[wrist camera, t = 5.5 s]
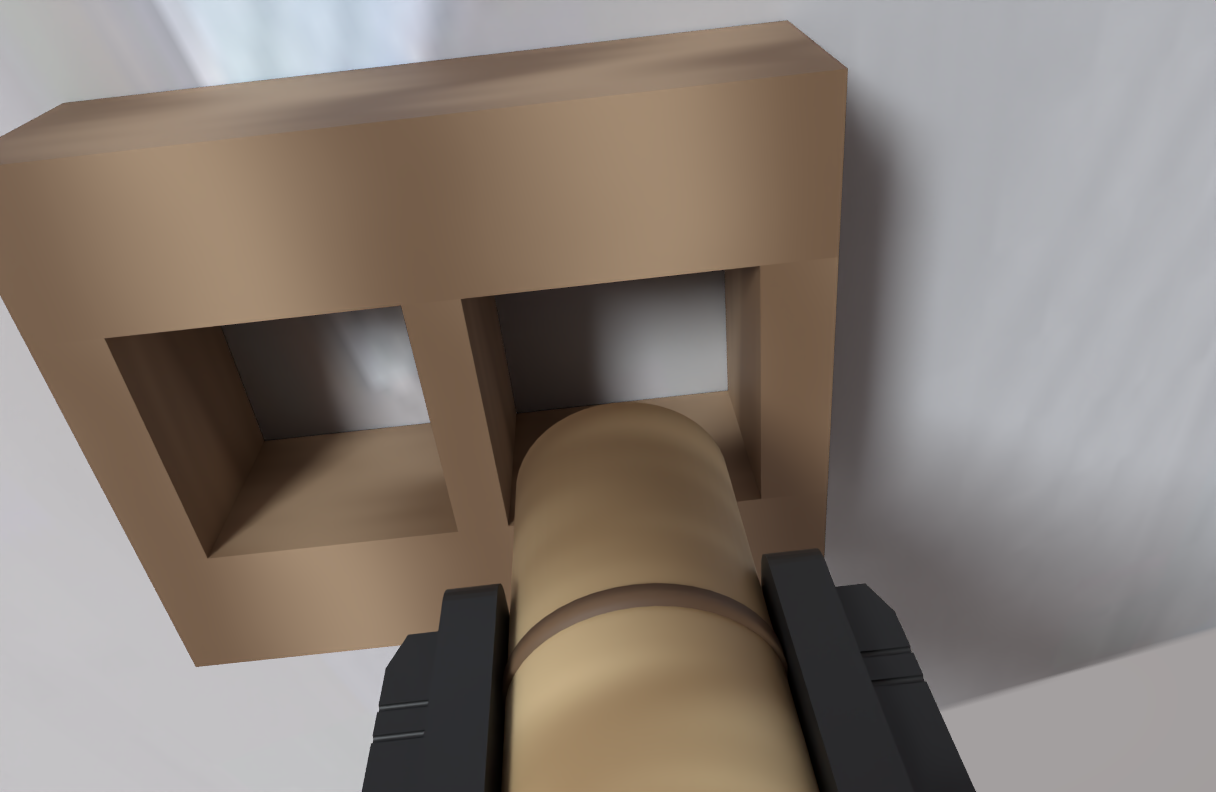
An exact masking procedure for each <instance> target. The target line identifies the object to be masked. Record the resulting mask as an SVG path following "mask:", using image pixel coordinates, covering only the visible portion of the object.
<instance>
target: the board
mask: <svg viewBox="0 0 1216 792" xmlns="http://www.w3.org/2000/svg"><path fill="white" fill-rule="evenodd" d="M847 75H848V68H846V67H845V66H844V65H843V64H841V63H840V62H839V61H838V60H836V59H835V58H834V57H833V56H831V55H830V54H829V53H828V52H826V51H825V50H824V49H823V48H821V47H820V46H819V45H818V44H816V43H815V42H814V41H813V40H811V39H810V38H809V37H808V36H806V35H805V34H804V33H803V32H801V31H800V30H799V29H798V28H796V27H795V26H794V25H793V24H791V23H790V22H789V21H788V20H787V21H778V22H769V23H761V24H752V25H743V26H734V27H726V28H717V29H708V30H699V31H691V32H682V33H673V34H664V35H656V36H647V37H638V38H629V39H620V40H612V41H603V42H594V43H585V44H577V45H568V46H559V47H550V48H542V49H533V50H524V51H515V52H507V53H498V54H489V55H480V56H471V57H463V58H454V59H445V60H436V61H428V62H419V63H410V64H401V65H393V66H384V67H375V68H366V69H358V70H349V71H340V72H331V73H322V74H314V75H305V76H296V77H287V78H279V79H270V80H261V81H252V82H244V83H235V84H226V85H217V86H209V87H200V88H191V89H182V90H173V91H165V92H156V93H147V94H138V95H130V96H121V97H112V98H103V99H95V100H86V101H77V102H68V103H62V104H61V105H59V106H57V107H55V108H53V109H51V110H50V111H48V112H46V113H44V114H42V115H40V116H38V117H37V118H35V119H33V120H31V121H29V122H27V123H25V124H24V125H22V126H20V127H18V128H16V129H14V130H12V131H11V132H9V133H7V134H5V135H3V136H1V137H0V296H1V298H2V300H3V301H4V303H5V305H6V307H7V309H8V311H9V313H10V315H11V317H12V319H13V320H14V322H15V324H16V326H17V328H18V330H19V332H20V334H21V336H22V338H23V339H24V341H25V343H26V345H27V347H28V349H29V351H30V353H31V355H32V357H33V358H34V360H35V362H36V364H37V366H38V368H39V370H40V372H41V374H42V376H43V377H44V379H45V381H46V383H47V385H48V387H49V389H50V391H51V393H52V395H53V396H54V398H55V400H56V402H57V404H58V406H59V408H60V410H61V412H62V414H63V415H64V417H65V419H66V421H67V423H68V425H69V427H70V429H71V431H72V433H73V434H74V436H75V438H76V440H77V442H78V444H79V446H80V448H81V450H82V452H83V453H84V455H85V457H86V459H87V461H88V463H89V465H90V467H91V469H92V471H93V472H94V474H95V476H96V478H97V480H98V482H99V484H100V486H101V488H102V489H103V491H104V493H105V495H106V497H107V499H108V501H109V503H110V505H111V507H112V508H113V510H114V512H115V514H116V516H117V518H118V520H119V522H120V524H121V526H122V527H123V529H124V531H125V533H126V535H127V537H128V539H129V541H130V543H131V545H132V546H133V548H134V550H135V552H136V554H137V556H138V558H139V560H140V562H141V564H142V565H143V567H144V569H145V571H146V573H147V575H148V577H149V579H150V581H151V583H152V584H153V586H154V588H155V590H156V592H157V594H158V596H159V598H160V600H161V602H162V603H163V605H164V607H165V609H166V611H167V613H168V615H169V617H170V619H171V621H172V622H173V624H174V626H175V628H176V630H177V632H178V634H179V636H180V638H181V640H182V641H183V643H184V645H185V647H186V649H187V651H188V653H189V655H190V657H191V659H192V660H193V662H194V664H195V666H196V667H200V666H209V665H219V664H228V663H237V662H247V661H256V660H266V659H275V658H285V657H294V656H303V655H313V654H322V653H332V652H341V651H351V650H360V649H370V648H379V647H388V646H398V645H402V643H403V642H404V640H405V639H406V637H407V635H409V634H418V633H427V632H436V631H438V629H439V622H440V614H441V607H442V600H443V595H444V592H445V591H446V590H447V589H455V588H464V587H472V586H481V585H490V584H499V583H501V584H502V586H503V588H504V592H505V596H506V600H507V605H508V609H509V614H510V601H511V581H512V561H513V541H514V521H515V500H516V482H517V477H518V473H519V469H520V467H521V464H522V462H523V459H524V457H525V456H526V454H527V452H528V451H529V449H530V448H531V446H532V445H533V444H534V443H535V441H536V440H537V439H538V438H539V437H540V436H541V435H542V434H543V433H544V432H545V431H546V430H548V429H549V428H550V427H552V426H553V425H554V424H556V423H557V422H559V421H561V420H562V419H564V418H566V417H568V416H569V415H572V414H574V413H576V412H579V411H581V410H584V409H587V408H591V407H594V406H597V405H591V406H582V407H572V408H563V409H554V410H545V411H536V412H527V413H516V408H515V403H514V397H513V392H512V387H511V381H510V376H509V371H508V365H507V360H506V355H505V349H504V344H503V339H502V333H501V328H500V323H499V317H498V312H497V307H496V301H495V296H494V295H501V294H510V293H519V292H528V291H537V290H546V289H555V288H564V287H573V286H582V285H591V284H600V283H609V282H618V281H627V280H636V279H645V278H654V277H663V276H672V275H681V274H690V273H699V272H708V271H717V270H725V304H726V339H727V374H728V391H719V392H710V393H701V394H692V395H682V396H673V397H664V398H655V399H646V400H637V401H627V402H637V403H647V404H653V405H658V406H661V407H665V408H668V409H671V410H673V411H676V412H678V413H680V414H683V415H684V416H686V417H688V418H690V419H691V420H693V421H694V422H696V423H697V424H698V425H700V426H701V427H702V428H703V429H704V430H705V431H706V432H707V433H708V434H709V435H710V436H711V437H712V438H713V439H714V441H715V442H716V444H717V445H718V447H719V448H720V450H721V453H722V455H723V457H724V459H725V463H726V466H727V470H728V473H729V477H730V480H731V484H732V487H733V491H734V494H735V498H736V501H737V505H738V508H739V512H740V515H741V519H742V522H743V526H744V529H745V533H746V536H747V540H748V543H749V547H750V550H751V554H752V557H753V561H754V564H755V568H756V571H757V575H758V578H759V582H760V585H761V558H762V555H763V554H769V553H778V552H787V551H796V550H805V549H814V548H818V549H819V550H820V551H821V553H822V555H823V557H824V551H825V530H826V510H827V489H828V468H829V447H830V427H831V406H832V385H833V365H834V344H835V323H836V302H837V282H838V261H839V240H840V220H841V199H842V178H843V158H844V137H845V116H846V95H847ZM392 306H401V308H402V312H403V316H404V320H405V324H406V328H407V332H408V335H409V339H410V343H411V347H412V351H413V355H414V359H415V363H416V367H417V371H418V375H419V379H420V383H421V387H422V391H423V395H424V399H425V403H426V407H427V411H428V415H429V418H430V422H431V423H426V424H416V425H407V426H398V427H389V428H380V429H371V430H361V431H352V432H343V433H334V434H325V435H316V436H306V437H297V438H288V439H279V440H270V441H264V439H263V436H262V433H261V431H260V428H259V426H258V423H257V420H256V418H255V415H254V412H253V410H252V407H251V405H250V402H249V399H248V397H247V394H246V392H245V389H244V386H243V384H242V381H241V379H240V376H239V373H238V371H237V368H236V366H235V363H234V360H233V358H232V355H231V353H230V350H229V347H228V345H227V342H226V339H225V337H224V334H223V332H222V329H221V325H230V324H239V323H248V322H257V321H266V320H275V319H284V318H293V317H302V316H311V315H320V314H329V313H338V312H347V311H356V310H365V309H374V308H383V307H392ZM618 403H619V402H618ZM600 405H603V404H600Z"/></svg>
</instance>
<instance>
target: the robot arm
mask: <svg viewBox="0 0 1216 792" xmlns="http://www.w3.org/2000/svg"><path fill="white" fill-rule="evenodd" d="M761 589H762V592H763V596H764V599H765V603H766V606H767V610H768V613H769V617H770V620H771V623H772V627H773V630H774V632H775V634H776V635H777V637H778V639H779V641H780V643H781V645H782V648H783V651H784V654H785V658H786V661H787V665H788V683H789V686H790V690H791V693H792V697H793V700H794V704H795V707H796V711H797V714H798V718H799V721H800V725H801V728H802V732H803V735H804V739H805V742H806V746H807V749H808V753H809V756H810V760H811V763H812V767H813V770H814V774H815V777H816V781H817V784H818V788H819V791H820V792H976V791H975V789H974V787H973V785H972V782H971V780H970V778H969V776H968V773H967V771H966V769H965V767H964V765H963V762H962V760H961V758H960V756H959V753H958V751H957V749H956V747H955V744H954V742H953V740H952V738H951V736H950V733H949V731H948V729H947V727H946V724H945V722H944V720H943V718H942V716H941V713H940V711H939V709H938V707H937V704H936V702H935V700H934V698H933V696H932V693H931V691H930V689H929V687H928V684H927V682H924V679H923V673H922V671H921V669H920V667H919V664H918V662H917V660H916V658H915V656H914V653H911V650H910V645H909V642H908V640H907V638H906V636H905V633H904V631H903V629H902V627H901V625H900V622H899V620H898V618H897V616H896V613H895V611H894V610H893V609H891V608H890V607H889V606H888V605H887V604H886V603H885V602H884V601H883V600H882V599H881V598H880V597H879V596H878V595H877V594H876V593H875V592H874V591H873V590H871V589H870V588H869V587H868V586H867V585H866V584H857V585H848V586H839V587H835V585H834V583H833V580H832V578H831V575H830V572H829V570H828V567H827V565H826V562H825V559H824V557H823V555H822V553H821V551H820V550H819V549H818V548H814V549H805V550H796V551H787V552H778V553H769V554H763V555H762V558H761ZM509 621H510V614H509V609H508V605H507V600H506V596H505V592H504V588H503V586H502V584H501V583H499V584H490V585H481V586H472V587H464V588H455V589H447V590H446V591H445V592H444V595H443V600H442V607H441V614H440V622H439V629H438V631H436V632H427V633H418V634H409V635H407V637H406V639H405V640H404V642H403V643H402V645H401V646H400V648H399V649H398V651H397V652H396V654H395V655H394V657H393V658H392V660H391V661H390V663H389V664H388V666H387V667H386V670H385V675H384V681H383V686H382V691H381V696H380V701H379V712H377V716H376V721H375V726H374V732H373V743H371V747H370V752H369V757H368V762H367V767H366V772H365V778H364V783H363V788H362V792H501V782H502V762H503V742H504V722H505V709H504V705H503V701H502V683H503V675H504V671H505V666H506V664H507V661H508V641H509Z"/></svg>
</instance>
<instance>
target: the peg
mask: <svg viewBox="0 0 1216 792" xmlns="http://www.w3.org/2000/svg"><path fill="white" fill-rule="evenodd" d="M502 701H503V705H504V709H505V722H504V742H503V762H502V782H501V792H820V791H819V788H818V784H817V781H816V777H815V774H814V770H813V767H812V763H811V760H810V756H809V753H808V749H807V746H806V742H805V739H804V735H803V732H802V728H801V725H800V721H799V718H798V714H797V711H796V707H795V704H794V700H793V697H792V693H791V690H790V686H789V683H788V665H787V661H786V658H785V654H784V651H783V648H782V645H781V643H780V641H779V639H778V637H777V635H776V634H775V632H774V630H773V627H772V623H771V620H770V617H769V613H768V610H767V606H766V603H765V599H764V596H763V592H762V589H761V585H760V582H759V578H758V575H757V571H756V568H755V564H754V561H753V557H752V554H751V550H750V547H749V543H748V540H747V536H746V533H745V529H744V526H743V522H742V519H741V515H740V512H739V508H738V505H737V501H736V498H735V494H734V491H733V487H732V484H731V480H730V477H729V473H728V470H727V466H726V463H725V459H724V457H723V455H722V453H721V450H720V448H719V447H718V445H717V444H716V442H715V441H714V439H713V438H712V437H711V436H710V435H709V434H708V433H707V432H706V431H705V430H704V429H703V428H702V427H701V426H700V425H698V424H697V423H696V422H694V421H693V420H691V419H690V418H688V417H686V416H684V415H683V414H680V413H678V412H676V411H673V410H671V409H668V408H665V407H661V406H658V405H653V404H647V403H637V402H619V403H609V404H603V405H597V406H594V407H591V408H587V409H584V410H581V411H579V412H576V413H574V414H572V415H569V416H568V417H566V418H564V419H562V420H561V421H559V422H557V423H556V424H554V425H553V426H552V427H550V428H549V429H548V430H546V431H545V432H544V433H543V434H542V435H541V436H540V437H539V438H538V439H537V440H536V441H535V443H534V444H533V445H532V446H531V448H530V449H529V451H528V452H527V454H526V456H525V457H524V459H523V462H522V464H521V467H520V469H519V473H518V477H517V482H516V500H515V521H514V541H513V561H512V581H511V601H510V621H509V641H508V661H507V664H506V666H505V671H504V675H503V683H502Z"/></svg>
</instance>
